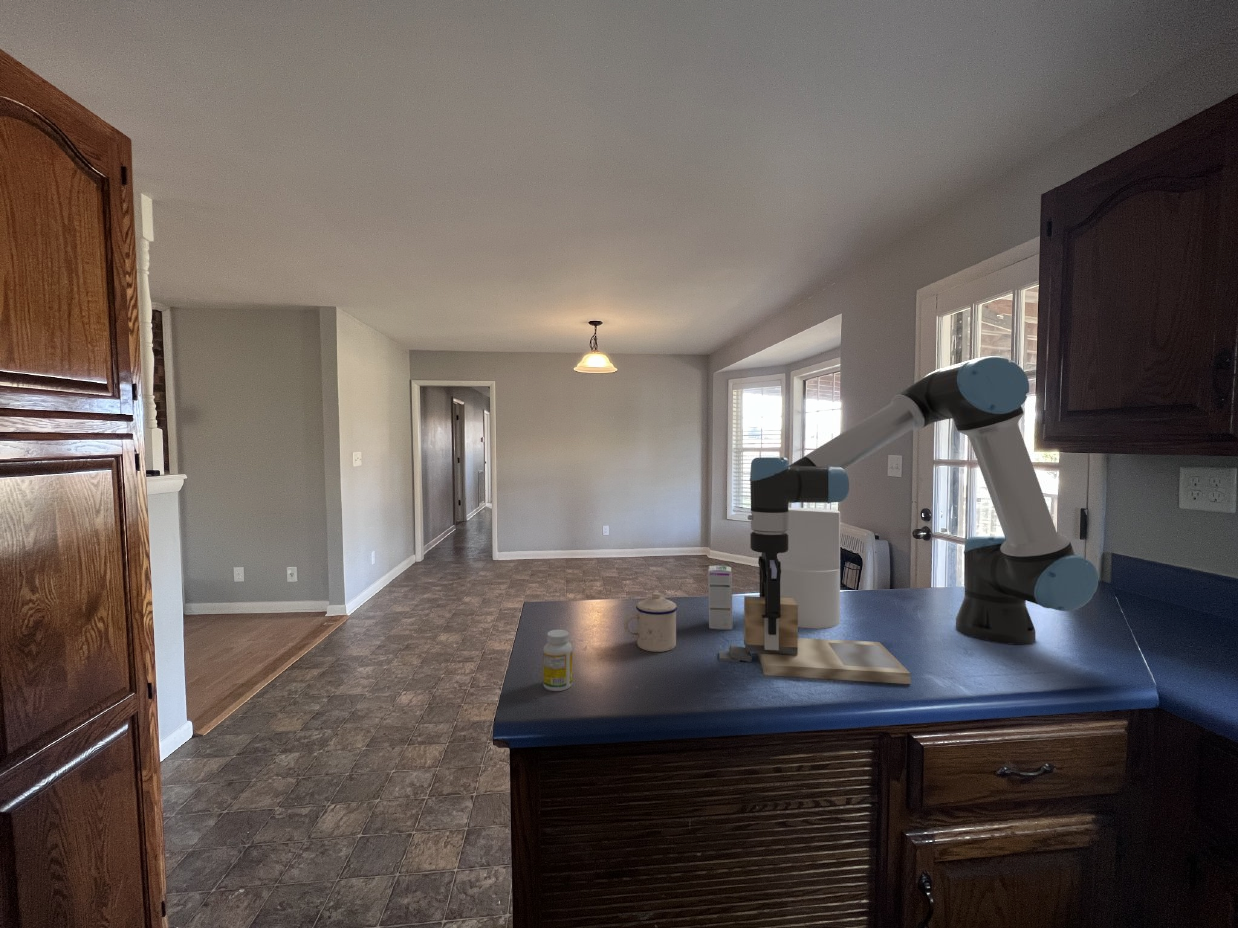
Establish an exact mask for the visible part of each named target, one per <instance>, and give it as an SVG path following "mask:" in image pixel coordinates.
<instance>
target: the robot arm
mask: <svg viewBox="0 0 1238 928" xmlns="http://www.w3.org/2000/svg"><path fill="white" fill-rule="evenodd" d="M1029 381H1030V380H1029V379H1028V376H1027V374H1026V372H1025V370H1024V369H1023V368H1022V367H1021V366H1020V365H1019V364H1018V363H1017V362H1015V361H1014V360H1012V359H1008V358H1006V357H1005V356H996V355H993V356H991V355H990V356H985V357H976V358H972V359H970V360H967V361H963V362H960V363H957V364H953V365H950V366H949V365H948V366H946V367H942V368H939V369H936V370H935V371H932V372H930V373H928V374H927V375H925V376H924V377H922V378H921V379H918V381H915V382H914V383H913V384H911V385H910V386H909V387H907V388H905V389H904V390H902V391H900V393H897V394H896V395H894V396H893V397H892V398H891V400H890V404H888V405H886V406H885V407H883V408H881V409H880V410H878V411H876V412H875V413H873V414H871V415H869V416H868V417H867V418H864V419H863V420H861V421H860V422H859V423H857V424H855V425H853V426H852V427H850V428H848V429H847V430H845V431H843V432H841V433H840V434H838V435H836V436H835V437H834V438H832V439H830V440H829V441H827V442H826V443H824V444H822V445H821V446H819V447H818V448H816V449H814V450H812V451H811V452H809V453H807V454H806V455H805V456H803V457H801V458H799V459H798V460H796V461H794V462H792V463H791V464H789V459H788V458H787V457H781V456H780V457H778V456H777V457H755V458H753V459H752V460H751V462H750V463H751V464H750V476H749V483H750V484H749V486H750V488H749V489H750V490H749V491H750V514H751V515H747V520H748V521H750V529H751V531H752V532H751V533H750V534H749V535H750V537H749V538H750V540H749V541H750V549H751V550H752V551H753V552H756V553H761V555H759V556H758V560H757V561H758V562H757V563H758V567H759V568H758V569H759V571H758V575H759V597H765V615H762V618H764V649H765V650H779V618H780V617H781V614H780V577H781V563H780V561H778V559H777V554H778V553H785V552H787V551H788V535H787V533H786V531H788V530H789V511H788V508H789V504H790V503H791V504H796V503H800V504H801V503H805V504H806V503H807V504H809V503H811V504H813V503H814V504H815V503H816V504H817V503H818V504H819V503H822V504H826V503H827V504H831V503H842V502H844V501H845V500H846V499H847V497H848V496H849V493H850V477H849V475H848V473H847V471H846V470H847V469H849V468H850V467H852V466H854V465H855V464H857V463H859V462H860V461H862V460H864V459H865V458H867V457H869V456H870V455H872V454H874V453H875V452H877V451H879V450H880V449H882V448H884V447H885V446H887V445H889V444H890V443H892V442H893V441H895V440H897V439H898V438H901V436H903V435H905V434H907V433H908V432H910V431H914V432H915V431H917V432H918V431H920V430H922V429H923V428H925V427H927V426H929V425H931V424H934V423H937V422H941V421H945V420H951V419H953V422H954V426H955V428H956V431H957V432H958V433H960V434H963V435H965V436H967V437H968V439H969V441H970V444H971V447H972V451H973V453H974V456H975V459H976V461H977V464H978V467H979V470H980V472H981V475H982V477H983V480H984V483H985V486H986V489H987V492H988V494H989V496H990V500H991V503H992V505H993V508H994V510H995V513H996V516H997V519H998V522H999V524H1000V527H1001V531H1002V533H1003V536H970V537H968V538H966V539H965V542H964V548H963V549H964V550H963V557H964V560H963V561H964V569H963V570H964V597H963V600H962V603H961V605H960V607H959V609H958V612H957V615H956V616H955V628H956V630H957V631H959V632H961V633H963V634H965V635H967V636H970V637H972V638H976V639H978V640H979V639H980V640H984V641H989V642H993V643H1000V644H1007V645H1008V644H1009V645H1027V644H1032V643H1035V642H1036V629H1035V626H1034V623H1033V621H1032V618H1031V616H1030V612H1029V610H1028V608H1027V603H1026V602H1029V603H1032V604H1035V605H1038V606H1041V607H1042V608H1045V609H1050V610H1051V609H1052V610H1055V611H1059V612H1071V611H1075V610H1077V609H1081V608H1082V607H1084V606H1085V605H1086V604H1088V603H1089V602H1090V601H1091V600H1092V598H1093V596H1094V594H1095V593H1096V592H1097V590H1098V585H1099V574H1098V571H1097V568H1096V566H1095V565H1094V563H1092V561H1090V560H1088V559H1087V558H1085V557H1083V556H1082V555H1077V554H1075V551H1074V548H1073V546H1072V543H1071V540H1070V538H1069V537H1068V536H1066V535H1065V534H1062V533H1060V532H1058V531H1057V529H1056V526H1055V524H1054V520H1053V518H1052V515H1051V512H1050V510H1049V507H1048V504H1047V502H1046V499H1045V498H1046V497H1045V496H1044V495H1045V494H1044V493H1043V490H1042V488H1041V485H1040V482H1039V479H1038V477H1037V473H1036V471H1035V468H1034V465H1033V463H1032V460H1031V457H1030V455H1029V451H1028V448H1027V446H1026V443H1025V440H1024V438H1023V434H1022V432H1021V429H1020V426H1019V421H1020V420H1021V419H1022V417H1023V416H1024V415H1025V412H1024V409H1023V406H1022V405H1024V403H1026V401H1027V399H1028V396H1027V394H1029V392H1030V382H1029Z"/></svg>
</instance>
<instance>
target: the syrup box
mask: <svg viewBox="0 0 1238 928" xmlns="http://www.w3.org/2000/svg"><path fill="white" fill-rule="evenodd" d="M707 570H708V571H707V583H708V584H707V589H708V590H707V591H708V593H707V594H708V596H707V599H708V600H707V601H708V628H709V629H712V630H724V631H733V581H732V579H733V578H732V567H731V566H729V565H709V566H708V569H707Z"/></svg>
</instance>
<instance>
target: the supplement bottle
mask: <svg viewBox="0 0 1238 928" xmlns="http://www.w3.org/2000/svg"><path fill="white" fill-rule="evenodd" d="M569 640H570V633H569V631H567V630H565V629H552V630H550V631H548V632H547V633H546V641H547V643H546V644H545V645H543V649H542V650H543V653H542V654H543V655H542V656H543V657H542V659H543V665H542V669H543V670H542V674H543V675H542V677H543V682H542V683H543V688H544V689H546V690H548V691H551V692H560V691H561V692H562V691H566V690H567V689H569V688H570V687H572V686H573V645H572V644H571V643H570V642H569Z"/></svg>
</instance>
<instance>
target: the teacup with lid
mask: <svg viewBox="0 0 1238 928" xmlns="http://www.w3.org/2000/svg"><path fill="white" fill-rule="evenodd" d="M635 607H636V608H635V609H636V613H632V614H629V615H627V617H625V619H624V622H623V627H624V630H625V633H627V635H629V637H632V638H636V640H637V641H636V643H637V646H638V648H640V649H642V650H644V651H647V652H653V653H660V652H662V653H663V652H667V651H670V650H673V649H675V647H676V645H677V610H678V607H677V604H676V603H675V602H673V601H672V600H670V599H667V598H665V597H664V596H662V594H661V592H655V591H654V592H652V593H651V596H649V597H647V598H646V599H642V600H640V601H638V603H637V604H636V605H635ZM632 619H636V632H631V631H630V628H629V622H630V621H631V620H632Z"/></svg>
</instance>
